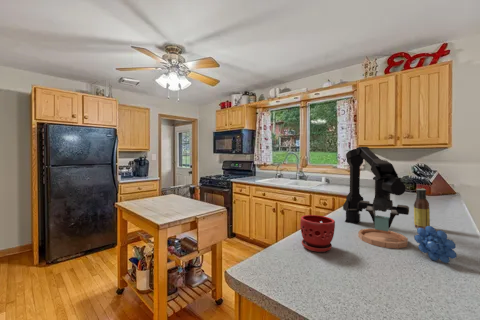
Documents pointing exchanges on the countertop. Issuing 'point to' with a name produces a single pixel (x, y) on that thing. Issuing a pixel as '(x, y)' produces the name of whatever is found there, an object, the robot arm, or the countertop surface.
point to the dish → (383, 238)
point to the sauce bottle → (421, 210)
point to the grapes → (435, 244)
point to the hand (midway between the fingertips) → (382, 226)
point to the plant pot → (317, 232)
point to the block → (382, 223)
